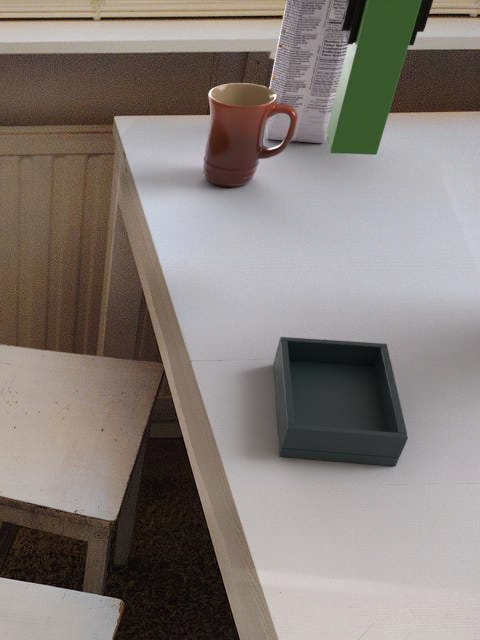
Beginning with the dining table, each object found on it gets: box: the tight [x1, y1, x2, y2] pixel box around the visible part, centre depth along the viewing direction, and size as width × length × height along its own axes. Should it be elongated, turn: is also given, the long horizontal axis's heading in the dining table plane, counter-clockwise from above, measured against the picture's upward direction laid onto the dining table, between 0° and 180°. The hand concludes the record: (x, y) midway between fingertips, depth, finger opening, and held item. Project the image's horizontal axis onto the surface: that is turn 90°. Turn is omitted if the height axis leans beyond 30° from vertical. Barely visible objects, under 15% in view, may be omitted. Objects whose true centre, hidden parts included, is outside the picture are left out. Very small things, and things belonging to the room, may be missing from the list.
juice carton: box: [265, 0, 348, 144], centre depth 114 cm, size 9×10×27 cm
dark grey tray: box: [272, 336, 409, 467], centre depth 79 cm, size 15×10×3 cm
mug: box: [202, 82, 298, 188], centre depth 110 cm, size 12×9×10 cm
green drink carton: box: [327, 0, 422, 156], centre depth 79 cm, size 6×4×14 cm
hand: (379, 38), depth 77 cm, fingers closed on green drink carton, 4 cm apart
